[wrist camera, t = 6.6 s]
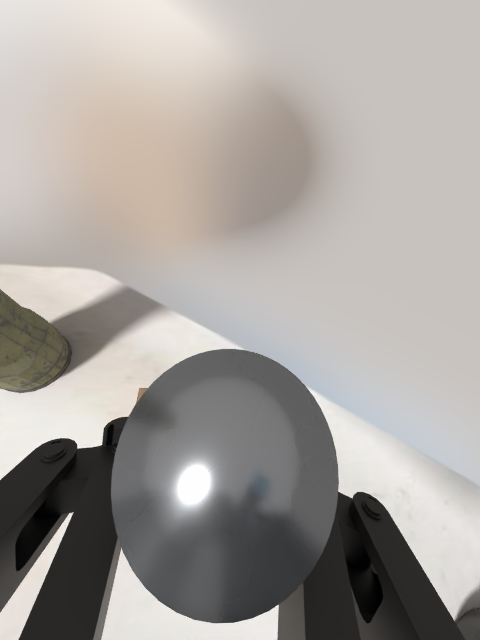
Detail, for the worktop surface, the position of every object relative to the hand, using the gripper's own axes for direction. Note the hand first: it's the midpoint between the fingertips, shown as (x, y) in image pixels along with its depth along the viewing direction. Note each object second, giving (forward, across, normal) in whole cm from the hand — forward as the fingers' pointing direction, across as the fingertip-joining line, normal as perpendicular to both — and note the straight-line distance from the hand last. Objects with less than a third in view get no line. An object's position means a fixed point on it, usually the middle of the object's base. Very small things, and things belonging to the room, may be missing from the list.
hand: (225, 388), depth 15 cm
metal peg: (0, 0, -6) cm, 6 cm away
